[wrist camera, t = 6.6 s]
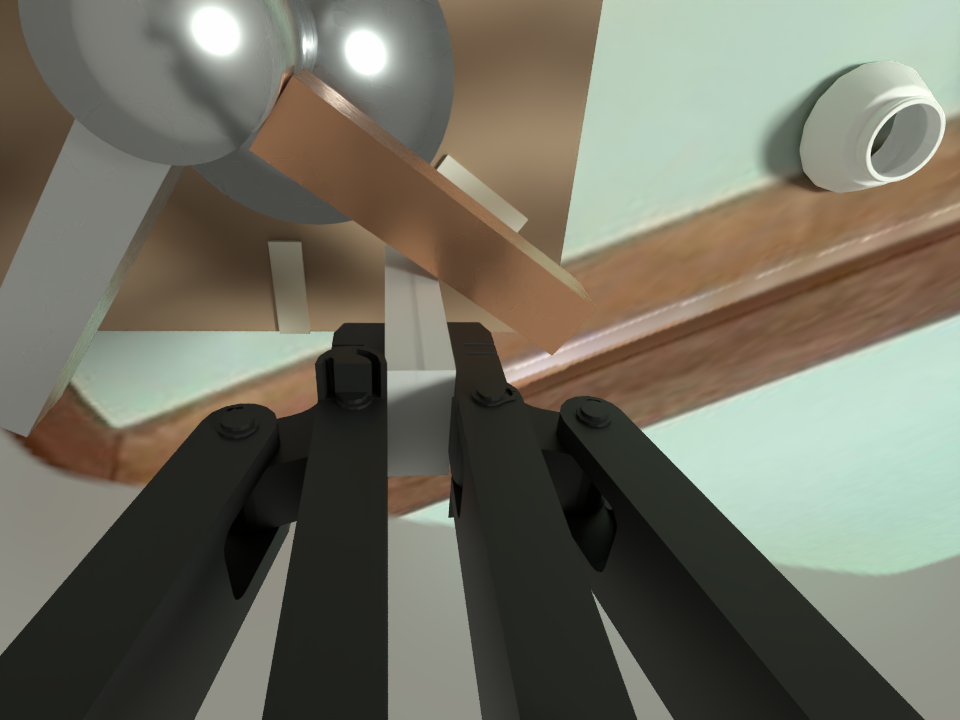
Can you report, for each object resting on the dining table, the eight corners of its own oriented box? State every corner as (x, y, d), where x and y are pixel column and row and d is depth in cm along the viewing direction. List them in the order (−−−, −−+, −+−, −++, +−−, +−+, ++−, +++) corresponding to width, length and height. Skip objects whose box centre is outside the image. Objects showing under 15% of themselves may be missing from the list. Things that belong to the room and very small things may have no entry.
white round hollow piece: (928, 53, 22) (808, 69, 22) (993, 59, 20) (859, 77, 20) (891, 178, 25) (784, 194, 25) (945, 198, 23) (826, 215, 22)
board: (-354, -640, 11) (-460, -731, 10) (653, -422, 15) (681, -467, 13) (25, 312, 23) (1, 332, 22) (541, 316, 26) (550, 334, 25)
